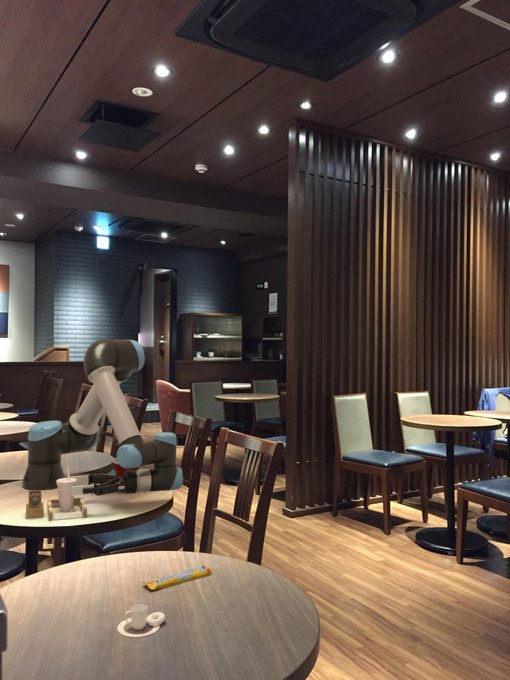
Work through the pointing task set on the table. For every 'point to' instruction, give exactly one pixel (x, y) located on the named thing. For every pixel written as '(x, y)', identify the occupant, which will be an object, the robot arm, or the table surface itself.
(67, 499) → the smoothie
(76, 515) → the mat
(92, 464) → the table surface
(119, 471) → the plastic cup
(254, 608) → the table surface
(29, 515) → the winch
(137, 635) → the teacup and saucer
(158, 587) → the candy bar
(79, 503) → the bay
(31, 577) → the table surface
